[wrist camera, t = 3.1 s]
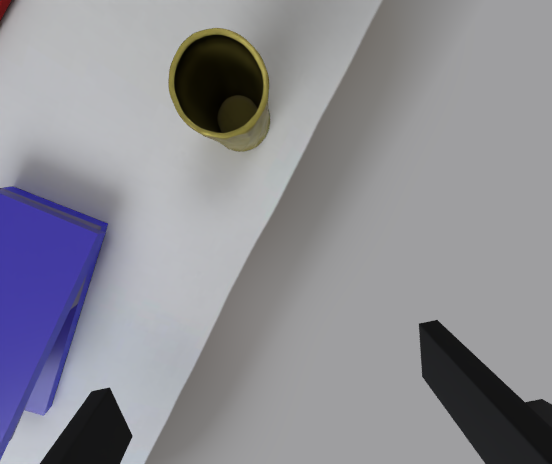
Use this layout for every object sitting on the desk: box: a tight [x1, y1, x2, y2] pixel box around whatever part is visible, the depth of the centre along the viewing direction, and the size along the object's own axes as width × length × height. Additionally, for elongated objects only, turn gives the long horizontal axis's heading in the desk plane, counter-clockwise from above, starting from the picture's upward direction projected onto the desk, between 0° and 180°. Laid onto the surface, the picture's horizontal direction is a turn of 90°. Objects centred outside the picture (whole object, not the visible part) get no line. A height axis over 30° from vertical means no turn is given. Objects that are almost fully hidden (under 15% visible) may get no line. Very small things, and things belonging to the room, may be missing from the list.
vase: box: [169, 28, 270, 151], centre depth 21 cm, size 6×6×14 cm
